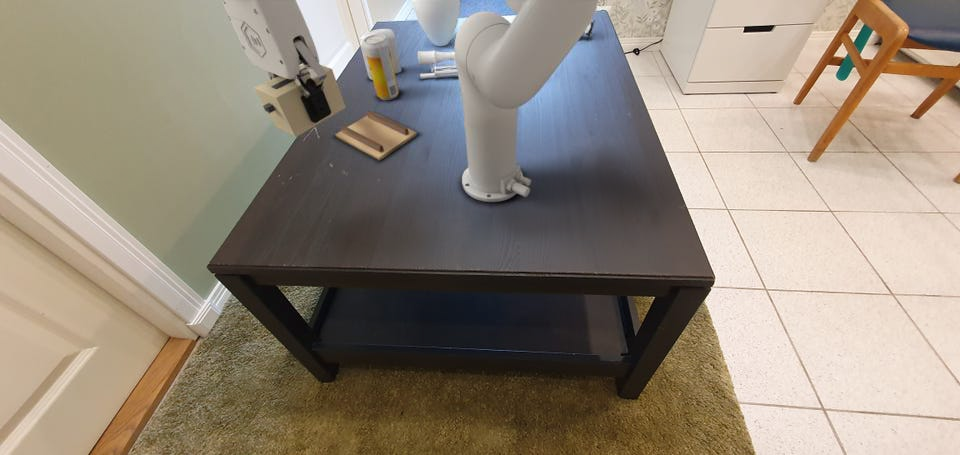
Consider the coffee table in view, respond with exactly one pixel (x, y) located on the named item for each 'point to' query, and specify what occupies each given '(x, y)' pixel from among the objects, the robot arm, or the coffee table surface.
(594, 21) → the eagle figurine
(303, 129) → the toaster
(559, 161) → the coffee table surface
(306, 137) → the coffee table surface
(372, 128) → the cradle
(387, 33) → the white curved piece
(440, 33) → the vase
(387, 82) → the beer can
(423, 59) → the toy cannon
